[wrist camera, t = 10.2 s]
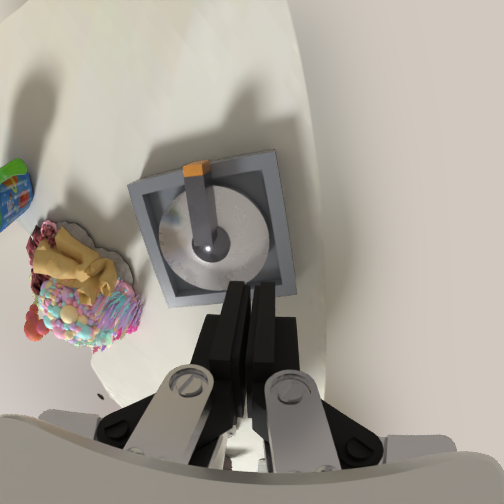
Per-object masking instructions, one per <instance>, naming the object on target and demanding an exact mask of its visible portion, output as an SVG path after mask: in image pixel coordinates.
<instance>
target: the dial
mask: <svg viewBox="0 0 504 504" xmlns="http://www.w3.org/2000/svg"><path fill="white" fill-rule="evenodd" d="M183 171H184V184H185V190H186V191H184V192H183V193H181V194H180V195H179V196H178V197H176V198H175V199H174V200H173V201H172V202H171V203H170V204H169V206H168V207H167V208H166V210H165V212H164V214H163V216H162V218H161V222H160V226H159V242H160V247H161V251H162V253H163V256H164V258H165V260H166V261H167V263H168V264H169V266H170V267H171V268H172V270H173V271H174V272H175V273H176V274H177V275H178V276H180V277H181V278H182V279H184V280H185V281H187V282H188V283H190V284H192V285H194V286H197V287H199V288H203V289H207V290H216V291H221V290H227V288H228V285H229V281H245V284H246V283H247V282H249V281H250V280H251V279H253V278H254V277H255V276H256V275H257V274H258V273H259V271H260V270H261V269H262V267H263V265H264V263H265V261H266V259H267V256H268V251H269V241H270V233H269V226H268V222H267V219H266V217H265V215H264V213H263V211H262V209H261V208H260V206H259V205H258V204H257V203H256V201H255V200H254V199H253V198H251V197H250V196H249V195H248V194H246V193H245V192H244V191H242V190H240V189H238V188H236V187H233V186H231V185H227V184H223V183H213V182H212V173H211V170H210V161H209V160H202V161H194V162H191V163H189V164H187V165H185V166H183Z"/></svg>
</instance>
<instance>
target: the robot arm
mask: <svg viewBox="0 0 504 504" xmlns="http://www.w3.org/2000/svg"><path fill="white" fill-rule="evenodd" d="M246 392H247V412H248V418H252V429H253V430H254V431H255V432H256V433H257V434H258V435H260V436H261V437H262V438H263V447H264V455H265V463H266V471H267V473H260V472H243V471H231V470H223V464H224V457H225V451H226V444H227V438H230V437H232V436H233V435H235V433H236V429H237V428H236V424H237V417H241V418H243V415H244V406H245V398H246ZM0 504H504V470H503V469H502V467H501V465H500V464H499V463H498V462H497V461H496V460H495V459H494V458H493V457H490V456H489V455H485V454H481V453H477V452H467V451H465V452H457V449H456V446H455V443H454V442H453V441H452V439H451V438H449V437H447V436H445V435H387V437H378V436H376V435H375V434H374V433H373V432H371V431H370V430H368V429H366V428H365V427H363V426H361V425H360V424H358V423H357V422H355V421H354V420H352V419H350V418H349V417H347V416H346V415H344V414H343V413H341V412H340V411H338V410H337V409H335V408H334V407H332V406H330V405H329V404H327V403H326V402H325V401H323V400H322V399H321V398H320V395H319V392H318V388H317V385H316V383H315V381H314V380H313V379H312V378H311V377H310V376H309V375H308V374H306V373H304V372H302V371H300V366H299V352H298V338H297V325H296V317H275V282H261V283H260V285H255V287H254V295H253V303H252V311H251V288H250V285H245V281H229V285H228V288H227V292H226V295H225V299H224V303H223V306H222V310H221V314H220V315H214V314H207V315H206V317H205V320H204V323H203V326H202V329H201V332H200V335H199V338H198V341H197V344H196V347H195V350H194V354H193V357H192V360H191V363H190V364H187V365H181V366H179V367H176V368H174V369H173V370H171V371H170V372H169V373H168V374H167V376H166V377H165V379H164V380H163V382H162V384H161V385H160V387H159V389H158V390H157V392H156V393H155V394H153V395H151V396H148V397H146V398H144V399H142V400H140V401H138V402H136V403H133V404H131V405H129V406H127V407H124V408H122V409H120V410H118V411H115V412H113V413H111V414H109V415H107V416H105V417H104V418H100V417H99V415H96V414H85V413H77V412H69V411H61V410H55V409H53V410H47V411H44V412H43V413H42V414H41V415H40V416H39V418H38V419H37V418H34V417H29V416H25V415H17V414H3V415H0Z"/></svg>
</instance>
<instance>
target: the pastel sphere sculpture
mask: <svg viewBox="0 0 504 504" xmlns="http://www.w3.org/2000/svg"><path fill="white" fill-rule="evenodd" d="M32 235H33V240H32V238H31V236H30V238H29V241H28V243H27V246H26V249H27V252H28V255H29V263H30V265H31V267H32V269H31V275H30V285H31V288H32V293H33V297H34V299H35V301H34V302H33V304H32V305H31V306H30V311H28V312H27V314H26V320H27V321H26V323H25V325H24V332H25V334H26V336H27V337H28V338H29V339H30V340H32V341H39V340H40V339H41V338H42V337H43V335H46V334H47V333H48V332H49V330H51V331H53V332H54V334H55V336H56V337H57V338H59V339H64V340H66V341H67V342H69V343H71V345H74V346H77V347H80V346H89V347H93V349H94V350H93V354H94V353H95V352H96V351H98V348H99V349H101V348H102V349H101V350H102V351H103V350H104V349H105V348H106V349H107V348H108V347H111V345H112V344H113V342H114V340H117V339H118V340H119V338H120V340H122V338H123V337H124V335H125V333H128V334H131V333H132V332H135V331H137V324H138V321H139V320H140V319H139V320H138V321H137V319H138V317H139V315H140V313H141V312H142V310H141V307H142V306H143V305H141V307H140V309H139V311H138V304H139V302H140V301H141V299H139V301H138V303H137V298H138V296H139V295H140V294H138V296H135V292H134V291H133V289H132V285H133V284H132V283H133V278H132V275H131V272H130V269H129V266H128V264H127V263H125V262H124V261H123V259H122V257H121V256H120V255H119V254H117V253H116V252H114V251H111V252H108V251H106V250H105V249H104V248H95V246H94V243H93V241H92V239H91V238H90V237H89V236H88V235H87V233H86V231H85V230H83V229H82V228H81V227H80V226H78V225H77V224H76V223H72V224H68V223H67V222H66V221H64V222H58V223H56V224H55V223H54V222H50V221H49V220H46V221H45V222H43V224H42V228H41V231H40V229H39V228H38V226H37V225H36V227H35V229H34V232H33V234H32ZM134 296H135V297H134ZM135 298H136V299H135ZM37 305H38V307H39V309H40V310H41V311H42V312H43V314H44V319H40V320H39V316H38V314H37V313H38V307H37ZM135 306H136V308H135ZM137 311H138V313H137V316H136V317H135V319H134V316H135V315H136V312H137ZM136 321H137V323H136ZM116 334H117V335H118V336H117V337H116V338H115V339H114V338H113V337H114V335H116ZM102 351H101V352H102Z"/></svg>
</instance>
